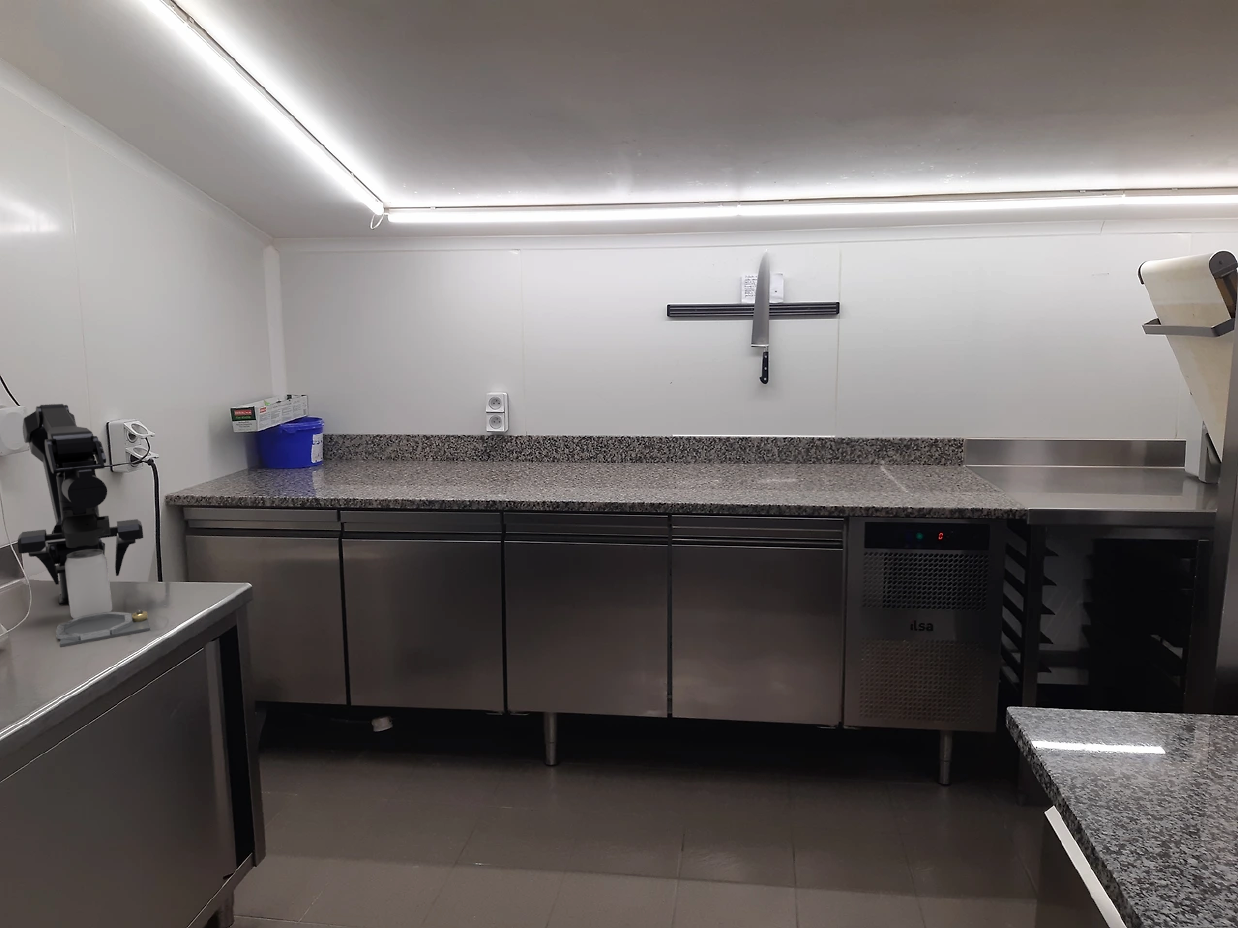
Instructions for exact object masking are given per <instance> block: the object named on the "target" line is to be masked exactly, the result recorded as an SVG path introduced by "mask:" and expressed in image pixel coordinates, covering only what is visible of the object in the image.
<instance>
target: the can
mask: <svg viewBox="0 0 1238 928" xmlns="http://www.w3.org/2000/svg"><path fill="white" fill-rule="evenodd" d="M108 567H109V566H108V559H107V557H106V555H105V556H104V554H103V550H100V549H88V550H81V551H76V552H72V553H70V554H68V555H67V560H66V562H65V572H66V580H67V589H68V597H69V603H68V605H69V611H70V617H71V618H72V619H75V618H77V617H81V616H85V615H91V614H97V613H103V612H110V611H111V612H112V610H113V603H112V602H113V601H112V594H111V593H112V591H111V584H110V576H109V568H108Z"/></svg>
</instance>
